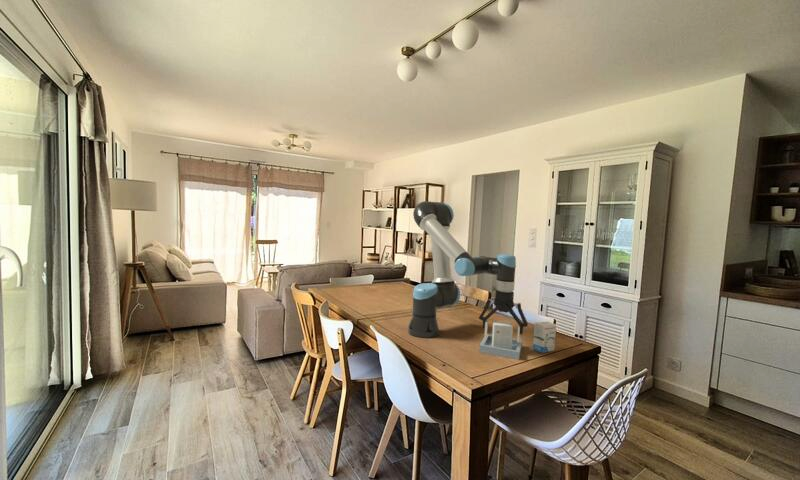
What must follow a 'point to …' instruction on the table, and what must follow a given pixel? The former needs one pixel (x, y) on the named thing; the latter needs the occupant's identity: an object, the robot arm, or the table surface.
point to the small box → (502, 334)
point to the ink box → (544, 337)
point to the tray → (489, 349)
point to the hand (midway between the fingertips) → (501, 338)
